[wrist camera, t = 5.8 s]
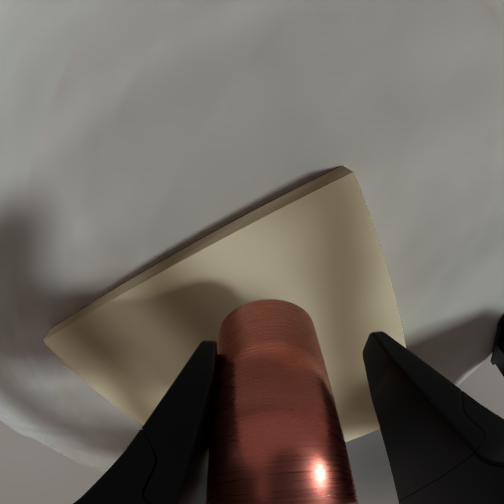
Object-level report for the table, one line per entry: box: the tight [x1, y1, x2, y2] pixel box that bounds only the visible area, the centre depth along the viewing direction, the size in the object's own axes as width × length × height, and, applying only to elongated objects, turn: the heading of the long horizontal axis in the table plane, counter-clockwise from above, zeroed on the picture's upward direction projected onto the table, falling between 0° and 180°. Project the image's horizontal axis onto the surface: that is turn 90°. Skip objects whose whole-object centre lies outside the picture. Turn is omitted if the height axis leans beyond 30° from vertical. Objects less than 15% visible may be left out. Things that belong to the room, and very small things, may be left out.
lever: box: [206, 299, 358, 504], centre depth 11 cm, size 4×19×8 cm, turn 7°
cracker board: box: [43, 166, 406, 442], centre depth 14 cm, size 20×20×4 cm
